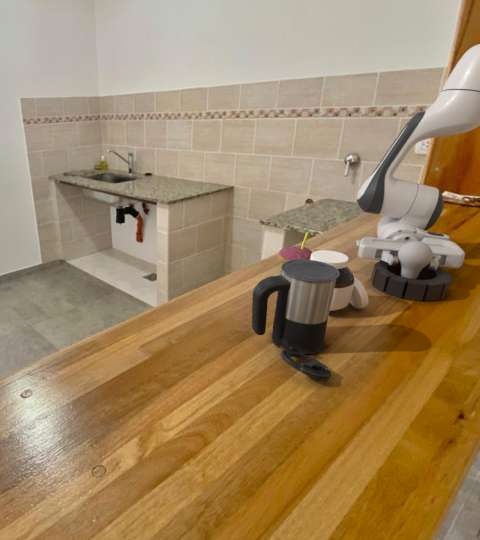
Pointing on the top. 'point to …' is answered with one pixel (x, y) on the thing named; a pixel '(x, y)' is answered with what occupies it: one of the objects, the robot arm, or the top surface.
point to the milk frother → (298, 311)
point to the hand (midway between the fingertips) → (413, 264)
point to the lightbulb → (414, 258)
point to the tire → (411, 282)
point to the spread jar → (342, 282)
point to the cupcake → (295, 252)
